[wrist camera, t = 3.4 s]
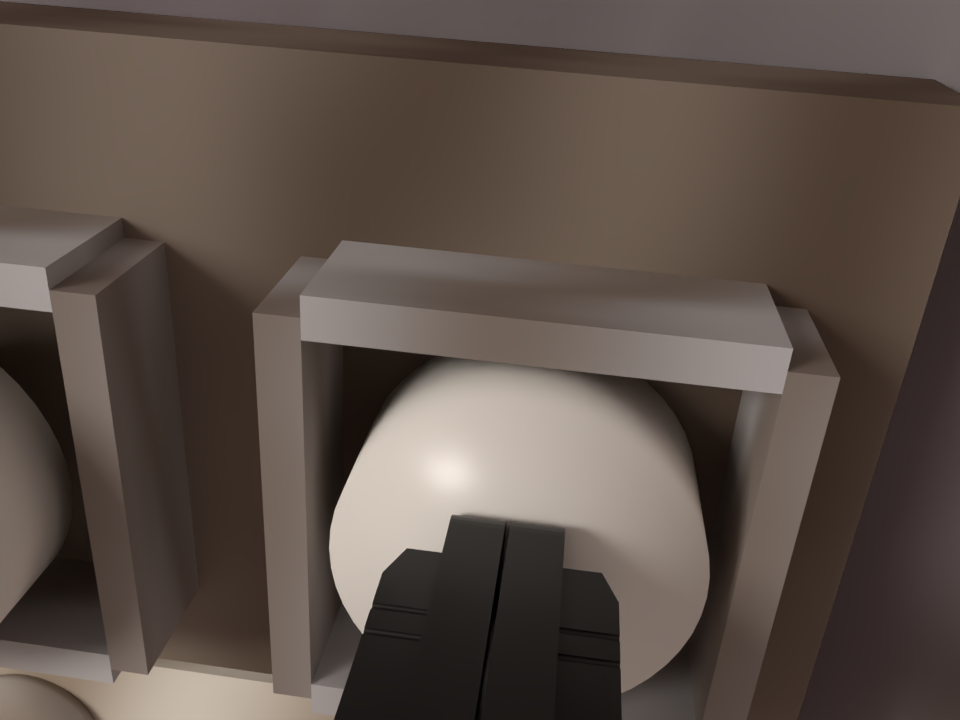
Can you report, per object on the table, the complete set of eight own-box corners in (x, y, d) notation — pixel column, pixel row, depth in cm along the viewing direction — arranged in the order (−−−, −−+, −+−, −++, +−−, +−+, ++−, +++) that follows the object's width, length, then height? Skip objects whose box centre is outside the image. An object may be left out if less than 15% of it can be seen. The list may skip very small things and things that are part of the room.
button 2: (724, 357, 12) (744, 432, 11) (667, 633, 15) (676, 733, 13) (364, 317, 13) (326, 383, 11) (363, 592, 15) (330, 684, 13)
